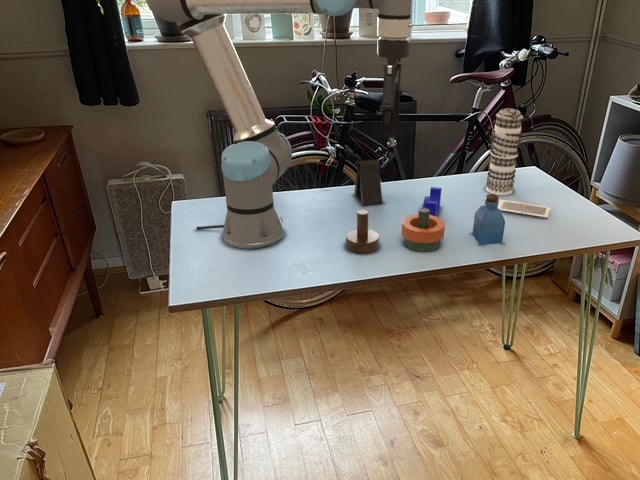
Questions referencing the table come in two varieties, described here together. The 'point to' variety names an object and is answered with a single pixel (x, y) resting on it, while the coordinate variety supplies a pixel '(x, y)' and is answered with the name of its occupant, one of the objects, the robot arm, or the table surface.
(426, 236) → the ring
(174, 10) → the robot arm
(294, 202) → the table surface
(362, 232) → the walnut peg
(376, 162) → the phone stand
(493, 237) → the perfume bottle
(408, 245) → the sage peg
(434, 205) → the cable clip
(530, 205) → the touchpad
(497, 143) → the decorative candle
